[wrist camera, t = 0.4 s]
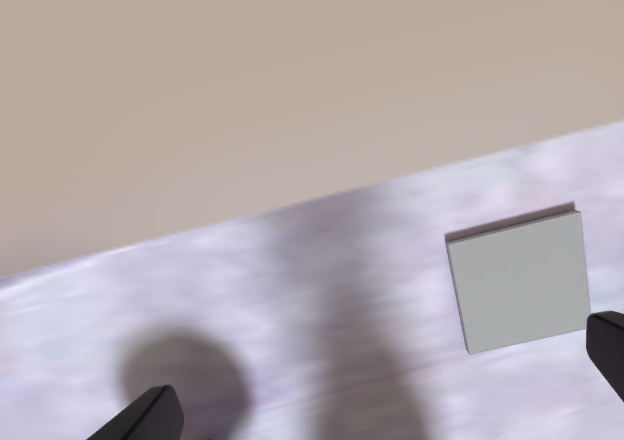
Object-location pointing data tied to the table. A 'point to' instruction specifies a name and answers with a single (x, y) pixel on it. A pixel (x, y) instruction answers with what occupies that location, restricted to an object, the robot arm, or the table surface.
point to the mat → (521, 282)
